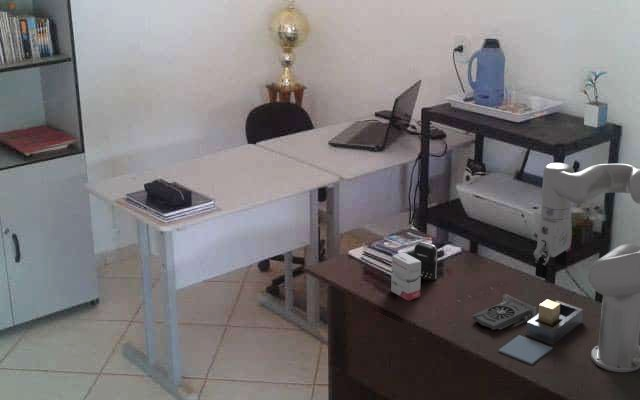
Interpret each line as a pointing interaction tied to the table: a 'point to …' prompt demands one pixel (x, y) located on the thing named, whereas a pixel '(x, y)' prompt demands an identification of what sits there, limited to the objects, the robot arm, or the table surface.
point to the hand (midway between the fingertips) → (550, 270)
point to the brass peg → (549, 313)
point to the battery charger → (427, 260)
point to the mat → (525, 349)
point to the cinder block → (567, 322)
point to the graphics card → (505, 314)
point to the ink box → (406, 276)
